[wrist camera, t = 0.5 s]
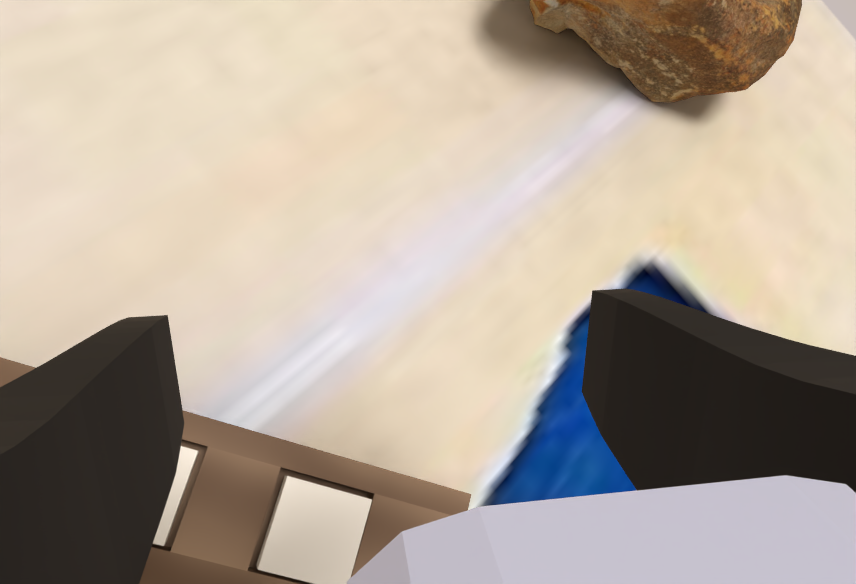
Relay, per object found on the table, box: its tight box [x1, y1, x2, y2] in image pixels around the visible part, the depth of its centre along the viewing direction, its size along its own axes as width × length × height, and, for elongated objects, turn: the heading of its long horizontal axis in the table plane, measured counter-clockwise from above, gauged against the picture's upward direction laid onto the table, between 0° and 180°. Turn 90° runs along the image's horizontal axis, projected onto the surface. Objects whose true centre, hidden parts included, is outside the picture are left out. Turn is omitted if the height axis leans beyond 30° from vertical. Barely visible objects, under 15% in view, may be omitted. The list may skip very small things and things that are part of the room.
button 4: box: [153, 446, 199, 546], centre depth 29 cm, size 4×4×1 cm
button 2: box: [256, 475, 372, 584], centre depth 31 cm, size 4×4×1 cm
